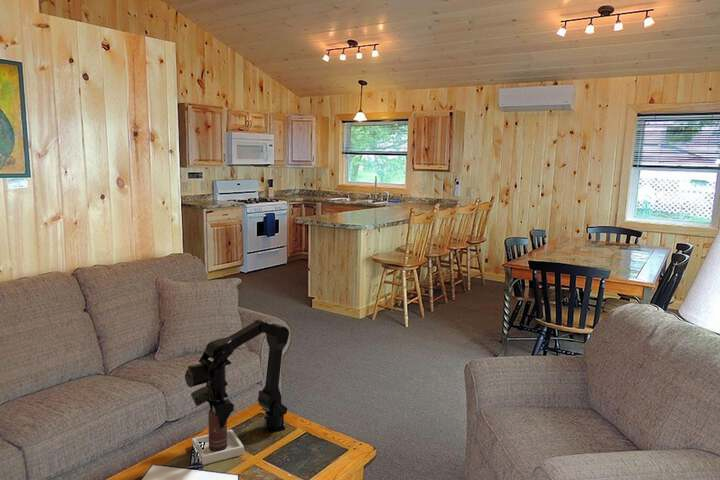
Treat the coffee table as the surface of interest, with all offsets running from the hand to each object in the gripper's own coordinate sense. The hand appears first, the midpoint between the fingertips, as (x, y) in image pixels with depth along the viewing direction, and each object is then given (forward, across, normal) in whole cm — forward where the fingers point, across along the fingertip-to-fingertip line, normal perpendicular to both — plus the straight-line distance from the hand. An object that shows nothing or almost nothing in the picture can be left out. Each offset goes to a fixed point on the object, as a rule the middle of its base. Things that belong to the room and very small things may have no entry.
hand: (217, 422), depth 180 cm
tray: (+10, 0, 0) cm, 10 cm away
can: (+9, 0, 0) cm, 9 cm away
